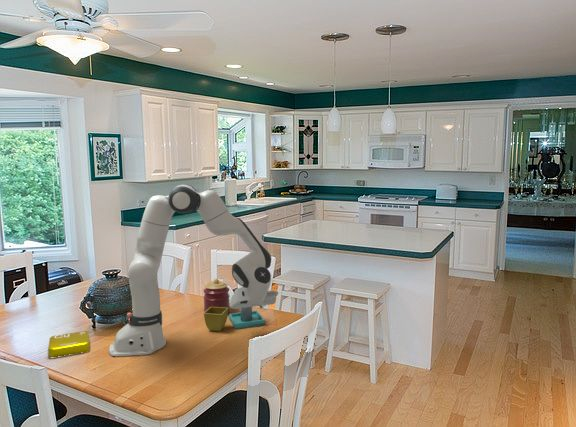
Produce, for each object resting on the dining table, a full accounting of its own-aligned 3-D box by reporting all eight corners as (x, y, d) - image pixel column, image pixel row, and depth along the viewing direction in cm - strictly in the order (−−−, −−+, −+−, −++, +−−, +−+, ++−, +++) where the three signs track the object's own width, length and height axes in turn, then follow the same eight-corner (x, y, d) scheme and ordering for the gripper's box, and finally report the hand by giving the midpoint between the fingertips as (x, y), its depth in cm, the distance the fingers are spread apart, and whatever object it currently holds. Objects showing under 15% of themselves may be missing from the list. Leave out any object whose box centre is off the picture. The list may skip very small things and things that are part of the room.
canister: (232, 308, 233) (231, 275, 231) (226, 317, 220) (225, 282, 218) (208, 307, 235) (207, 275, 232) (200, 316, 222) (199, 282, 220)
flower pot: (222, 333, 200) (221, 314, 199) (203, 332, 202) (203, 313, 201) (228, 326, 209) (228, 307, 208) (211, 325, 211) (210, 306, 210)
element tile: (48, 360, 177) (47, 348, 176) (50, 345, 190) (49, 335, 190) (90, 352, 183) (89, 341, 182) (89, 339, 197) (88, 329, 196)
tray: (235, 329, 205) (235, 324, 205) (229, 318, 218) (229, 313, 218) (264, 325, 210) (264, 320, 209) (257, 315, 223) (257, 310, 223)
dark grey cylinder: (242, 322, 210) (241, 299, 209) (239, 318, 216) (238, 296, 214) (253, 320, 212) (253, 298, 211) (250, 316, 217) (250, 294, 216)
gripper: (277, 284, 199) (271, 299, 209) (231, 289, 192) (227, 304, 203) (280, 297, 195) (274, 311, 205) (234, 302, 188) (230, 317, 199)
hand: (250, 308), depth 204 cm, fingers open, 8 cm apart
